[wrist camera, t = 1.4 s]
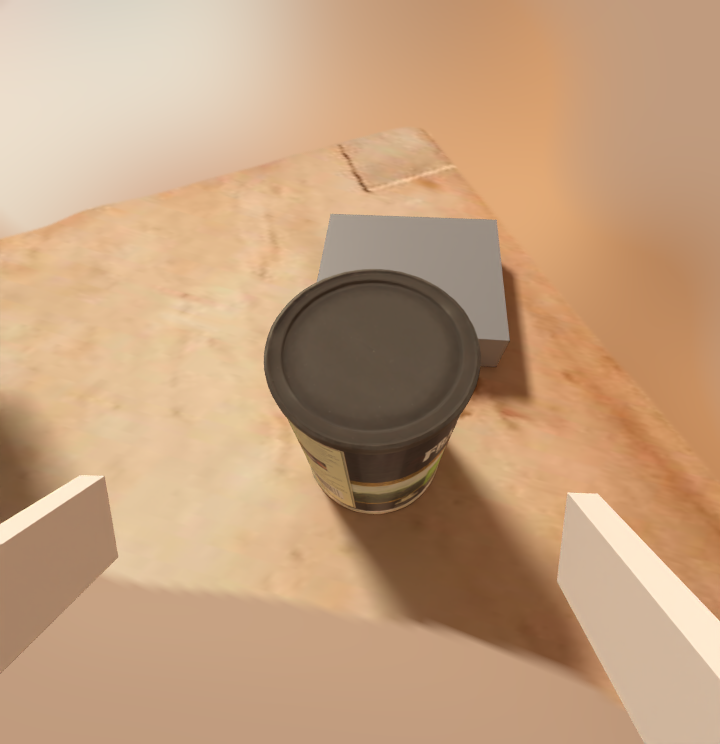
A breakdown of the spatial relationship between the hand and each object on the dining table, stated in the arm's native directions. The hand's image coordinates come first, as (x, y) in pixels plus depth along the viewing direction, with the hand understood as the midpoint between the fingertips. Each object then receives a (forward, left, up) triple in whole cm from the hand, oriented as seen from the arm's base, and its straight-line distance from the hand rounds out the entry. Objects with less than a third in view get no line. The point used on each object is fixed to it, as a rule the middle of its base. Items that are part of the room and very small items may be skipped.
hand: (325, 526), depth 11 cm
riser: (+3, +24, -18) cm, 30 cm away
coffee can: (+1, +9, -18) cm, 20 cm away
